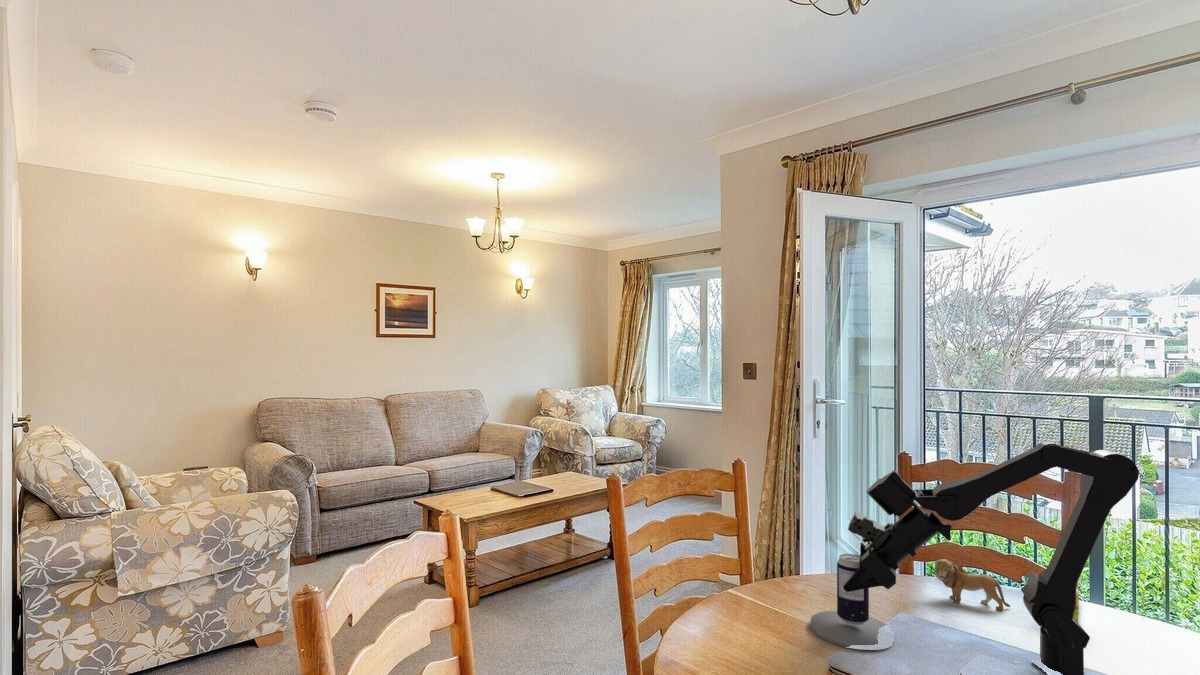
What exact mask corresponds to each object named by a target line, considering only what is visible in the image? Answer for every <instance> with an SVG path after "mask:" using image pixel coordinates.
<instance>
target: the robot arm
mask: <svg viewBox="0 0 1200 675" xmlns="http://www.w3.org/2000/svg"><path fill="white" fill-rule="evenodd" d="M1053 468H1059V469H1060V468H1061V469H1064V470H1066V471H1071V472H1075V473H1078V474H1080V476H1079V477H1080V478H1079V497H1078V499H1077V501H1076V503H1075V505H1074V508H1073V510H1072V512H1071V514H1070V516H1069V519H1068V521H1067V523H1066V525H1065V528H1064V530H1063V531H1062V533H1061V534H1062V535H1061V536H1060V539H1059V541H1058V543H1057V545H1056V548H1055V550H1054V551H1053V554H1052V557H1051V558H1050V561H1049V563H1048V565H1047V567H1046V568H1045V569H1044V570H1043V571H1042V572H1041V573H1040V574H1037V573H1035V572H1034V571H1032V570H1030V571H1029V573H1028V574H1027V575H1028V576H1027V580H1026V583H1025V585H1024V586H1023V587H1021V589H1020V591H1021V592H1022V594H1023V596H1022V602H1023V605H1024V607H1025V608H1026V610H1027V611H1028V613H1029V614H1030V616H1031V618H1032V619H1033V621H1034V622H1035V623H1036V624H1037V625H1038V626H1039V628H1040V629H1039V630H1040V631H1039V634H1040V635H1039V641H1040V642H1039V658H1040V657H1041V658H1040V659H1041V662H1042V663H1043V664H1044V665H1046V666H1047V667H1048V668H1050V669H1052V670H1054V671H1058V672H1060V673H1061V674H1063V675H1084V672H1085V670H1084V669H1085V663H1084V656H1085V655H1084V654H1085V653H1084V652H1085V651H1084V649H1087V645H1088V644H1089V642H1090V640H1091V637H1090V635H1089V634H1088V633H1087V632H1086V630H1085V629H1084V628H1083V627H1082V626H1081V625H1080V623H1079V621H1078V622H1077V621H1076V620H1075V618H1074V617H1073V616H1074V611H1075V606H1076V588H1077V586H1078V585H1077V584H1078V582H1079V579H1080V578H1081V575H1082V573H1083V571H1084V568H1085V567H1086V564H1087V563H1088V560H1089V558H1090V555H1091V553H1092V551H1093V549H1094V547H1095V544H1096V542H1097V540H1098V538H1099V536H1100V533H1101V532H1102V529H1103V527H1104V524H1105V522H1106V521H1107V518H1108V517H1109V516H1108V515H1109V513H1110V512H1111V510H1112V509H1113V507H1114V506H1116V505H1117V504H1119V503H1120V502H1121V501H1122V500H1123V499H1124V498H1125V497H1127V495H1128V494H1129V492H1130V491H1131V490H1132V488H1133V487H1134V486H1135V484H1136V483H1137V482H1138V480H1139V475H1140V469H1139V468H1138V466H1137V465H1136V463H1135V462H1134V460H1132V459H1131V458H1129V457H1127V456H1125V455H1123V454H1120V453H1118V452H1114V451H1111V450H1106V449H1098V450H1094V451H1086V450H1083V449H1078V448H1073V447H1069V446H1066V445H1065V446H1064V445H1060V444H1057V443H1054V442H1052V441H1042V442H1040V443H1037V445H1036V446H1034V447H1033V448H1030V449H1028V450H1026V451H1024V452H1021V453H1019V454H1018V455H1015V456H1013V457H1011V458H1009V459H1008V460H1005V461H1003V462H1001V463H999V464H996V465H995V466H993V467H990V468H988V469H986V470H984V471H982V472H980V473H978V474H975V475H972V476H968V477H963V478H957V479H953V480H949V481H946V482H943V483H940V484H938V485H936V486H935V487H933V488H928V489H927V488H926V489H923V488H922V489H920V488H919V489H913V488H912V487H911V486H910V485H909V484H908V483H907V482H906V481H905V479H903V478H902V477H901V475H900V474H899V473H898V472H897V471H896V470H892V471H891V472H889V473H887V474H886V475H885V476H883V477H882V478H878V479H877V480H876V481H874V483H873V484H872V485H871V486H869V488H868V489H867V490H866V494H867V495H868V496H870V498H871V499H872V500H873V501H874V502H875V503H876V504H877V505H878V506H879V507H880V508H881V509H882V510H883V511H884V512H885V513H886V514H887V515H889V516H892V515H894V516H896V517H900V516H901V518H899V519H897V520H896V522H894V523H892V522H891V523H890V522H888V523H887V524H886V525H884V526H883V525H882V524H880V523H878V522H877V521H875V520H873V519H871V518H869V517H868V516H865V515H863V514H862V513H860V512H857V511H855V512H854V514H853V516H852V518H851V520H850V522H849V523H848V527H847V530H848V531H849V532H850V533H852V534H853V535H858V536H860V537H861V538H862V542H860V545H859V546H860V549H859V551H860V554H859V556H860V560H859V562H860V567H859V568H858V569H857V570H856V572H855V573H854V574H853V575H852V576H851V578H850V579H849V580H848V581H847V582H846V584H845V585H844V586H843V589H844V590H845V591H846V592H850V591H855V590H860V589H865V588H870V589H871V588H876V587H884V588H885V589H886V590H889V589H891V588H892V587H894V586H895V585H896V584H897V573H896V570H898V569H899V568H900V564H901V563H902V562H904V561H905V560H906V559H907V558H909V557H910V556H911V557H914V556H916V554H917V550H919V549H920V548H921V547H922V546H924V545H925V544H926V543H928V542H929V541H930V540H931V539H932V538H934V537H936V535H937V534H939V533H940V534H941V535H942V536H943V538H944V539H945V540H946V541H951V540H952V537H951V535H952V534H951V530H952V527H953V526H952V524H951V523H950V522H952V521H953V522H955V521H959V520H962V519H964V518H965V517H966V516H968V515H969V514H971V513H972V512H973V511H975V510H976V509H978V508H979V507H980V506H981V505H982V504H983V503H984V502H985V501H986V500H988V499H990V498H991V497H992V496H994V495H996V494H999V493H1002V492H1003V491H1005V490H1008V489H1010V488H1012V487H1014V486H1016V485H1018V484H1020V483H1023V482H1025V481H1027V480H1030V479H1031V478H1034V477H1036V476H1037V475H1040V474H1042V473H1045V472H1046V471H1048V470H1051V469H1053ZM918 504H919V505H918ZM910 508H911V509H910ZM909 509H910V510H909ZM924 509H926V510H928V511H925V510H924ZM907 511H908V512H907ZM934 512H935V513H936V514H935V513H934ZM902 515H903V516H902ZM938 516H939V517H941V518H943V519H945V520H948V521H950V522H944V521H942V520H941V519H940V518H939V517H938ZM864 543H866V544H864Z"/></svg>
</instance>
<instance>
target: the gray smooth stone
mask: <svg viewBox="0 0 1200 675" xmlns="http://www.w3.org/2000/svg"><path fill="white" fill-rule="evenodd" d="M885 624H886V623H885V622H883V621H881V620H878V619H876V618H874V617H871V616H869V619H868V620H867V621H866V622H865V623H864V624H862V625H852V624H848V623H846V622H844V621H842V619H841V618H840V617H839V616H838V614H837V610H828V611H821V612H817V613H815V614H813V615H812V616H811V618H810V629H811V631H812V632H813V634H814V635H815V636H816V637H817V638H819V639H821V640H822V641H825V642H827V643H829V644H832V645H834V646H838V647H840V648H844V649H847V648H846V647H849V646H851V645H875V644H878V640H877V638H878V637H877V636H878V633H879V632H878V630H879V628H881V627H883V626H885ZM876 637H877V638H876Z"/></svg>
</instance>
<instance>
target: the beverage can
mask: <svg viewBox="0 0 1200 675" xmlns="http://www.w3.org/2000/svg"><path fill="white" fill-rule="evenodd" d="M838 557H839V558H838V560H837V562H836V570H837V571H836V588H837V589H836V598H837V599H836V609H837V610H836V611H837V614H838V616H839V617H840V618H841V619H842V621H844V622H846V623H848V624H852V625H862V624H864V623H865V622H866V621H867V620H868V619H869V617H870V602H869V601H870V599H869V598H870V596H869V595H870V593H869V592H870V591H869V590H870V589H869V588H865V589H860V590H855V591H850V592H846V591H845V590H844V589H843V586H844V585H845V584H846V582H847V581H848V580H849V579H850V578H851V576H852V575H853V574H854V573H855V572H856V570H857V569H858V568H859V567H860V562H859V560H860V554H859V555H858V554H853V553H842V554H840V555H839V556H838Z"/></svg>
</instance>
